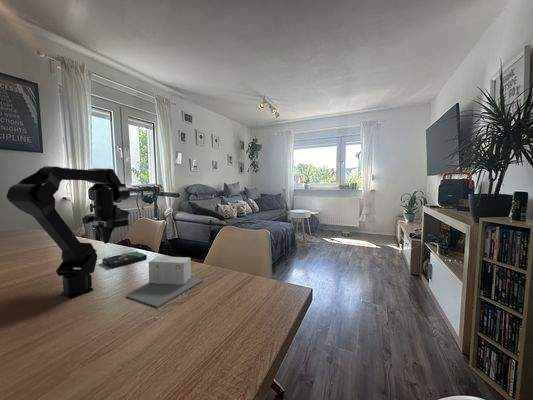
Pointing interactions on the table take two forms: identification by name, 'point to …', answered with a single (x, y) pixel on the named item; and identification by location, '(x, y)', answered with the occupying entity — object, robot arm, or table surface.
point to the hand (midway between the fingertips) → (106, 243)
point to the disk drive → (123, 259)
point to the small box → (170, 270)
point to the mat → (161, 292)
